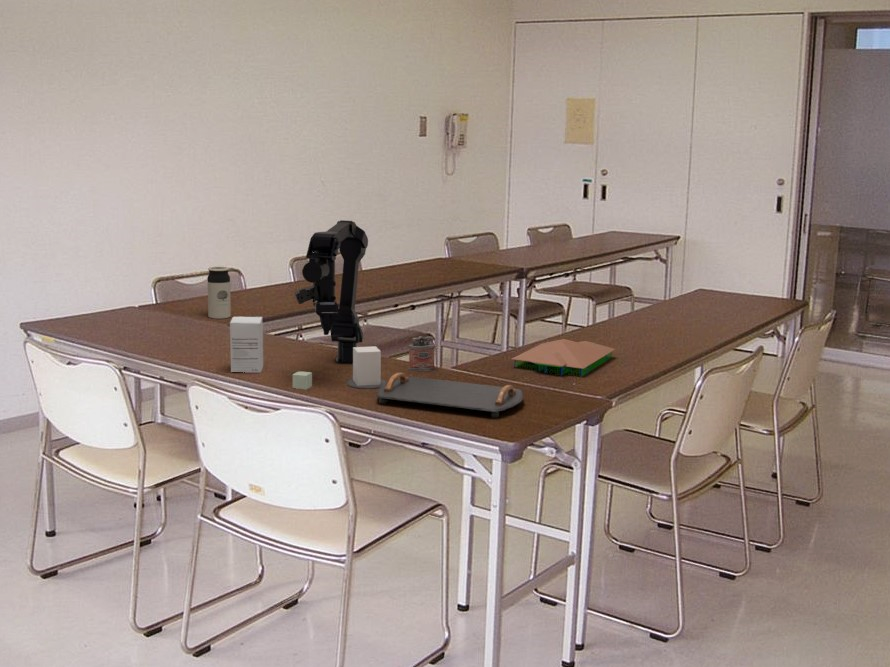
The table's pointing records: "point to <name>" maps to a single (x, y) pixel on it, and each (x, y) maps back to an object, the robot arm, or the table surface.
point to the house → (565, 355)
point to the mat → (353, 384)
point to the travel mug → (219, 293)
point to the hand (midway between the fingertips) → (324, 331)
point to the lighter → (421, 354)
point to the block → (302, 380)
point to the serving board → (450, 393)
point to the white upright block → (366, 366)
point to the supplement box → (246, 344)
